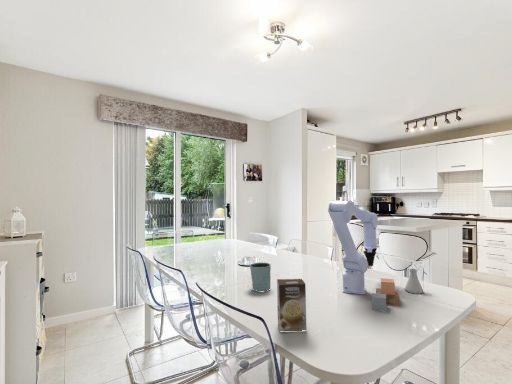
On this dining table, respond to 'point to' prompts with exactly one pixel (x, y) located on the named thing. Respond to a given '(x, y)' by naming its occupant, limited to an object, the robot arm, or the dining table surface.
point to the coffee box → (291, 304)
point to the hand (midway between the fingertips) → (370, 264)
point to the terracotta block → (387, 286)
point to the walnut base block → (391, 298)
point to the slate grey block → (379, 302)
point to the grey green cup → (260, 276)
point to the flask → (413, 283)
